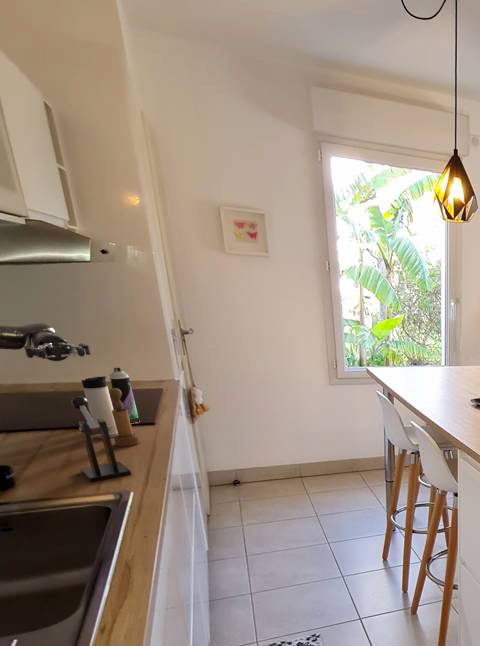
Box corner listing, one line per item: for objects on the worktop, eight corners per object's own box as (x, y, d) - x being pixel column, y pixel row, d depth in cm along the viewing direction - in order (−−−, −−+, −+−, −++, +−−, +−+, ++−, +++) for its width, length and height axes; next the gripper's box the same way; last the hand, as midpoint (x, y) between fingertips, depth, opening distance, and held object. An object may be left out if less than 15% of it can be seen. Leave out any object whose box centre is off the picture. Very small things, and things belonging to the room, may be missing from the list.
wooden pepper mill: (112, 444, 176) (97, 388, 170) (135, 439, 181) (122, 385, 175) (120, 448, 173) (106, 391, 166) (144, 443, 178) (130, 388, 171)
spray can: (123, 425, 197) (109, 369, 190) (119, 422, 201) (105, 367, 193) (141, 422, 201) (128, 367, 194) (137, 420, 204) (124, 365, 197)
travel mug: (114, 438, 182) (99, 378, 174) (92, 438, 181) (75, 378, 173) (124, 433, 187) (110, 374, 180) (103, 433, 186) (87, 374, 179)
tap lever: (70, 405, 151) (68, 394, 149) (86, 403, 154) (85, 392, 152) (88, 437, 146) (86, 427, 144) (104, 435, 149) (103, 424, 146)
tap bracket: (81, 472, 152) (66, 420, 146) (120, 465, 158) (107, 415, 153) (91, 482, 145) (75, 428, 140) (131, 474, 151) (118, 422, 146)
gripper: (16, 334, 159) (25, 341, 149) (77, 332, 169) (90, 339, 159) (23, 361, 162) (33, 369, 152) (84, 357, 172) (97, 365, 162)
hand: (62, 353), depth 155 cm, fingers open, 8 cm apart
